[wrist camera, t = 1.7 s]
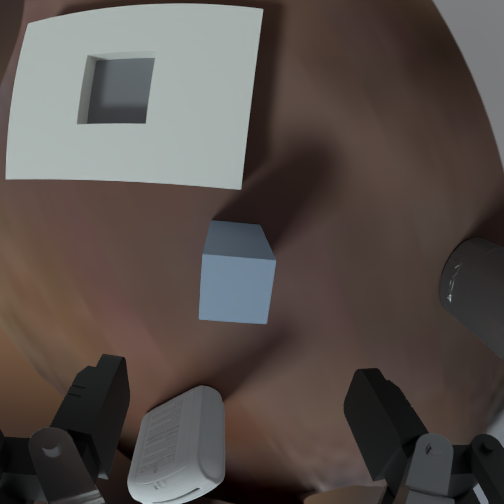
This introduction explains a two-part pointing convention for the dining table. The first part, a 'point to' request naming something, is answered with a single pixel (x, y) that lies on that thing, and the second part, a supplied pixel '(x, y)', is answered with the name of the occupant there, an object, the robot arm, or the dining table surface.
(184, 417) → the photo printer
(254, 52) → the socket
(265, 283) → the peg
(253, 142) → the dining table surface
